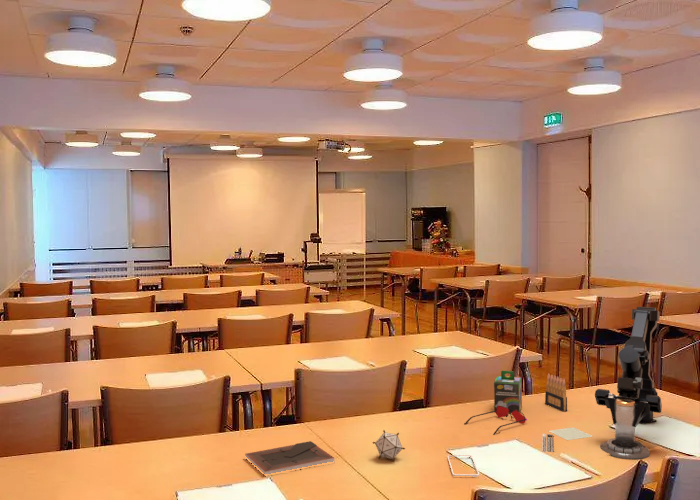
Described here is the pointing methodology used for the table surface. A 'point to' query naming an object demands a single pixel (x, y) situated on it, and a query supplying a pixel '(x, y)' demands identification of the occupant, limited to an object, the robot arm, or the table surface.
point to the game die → (388, 445)
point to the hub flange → (625, 450)
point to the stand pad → (570, 433)
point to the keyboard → (551, 443)
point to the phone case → (463, 474)
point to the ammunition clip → (556, 393)
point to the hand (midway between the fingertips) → (624, 425)
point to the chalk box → (508, 391)
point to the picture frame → (289, 457)
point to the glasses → (505, 415)
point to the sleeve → (625, 422)
